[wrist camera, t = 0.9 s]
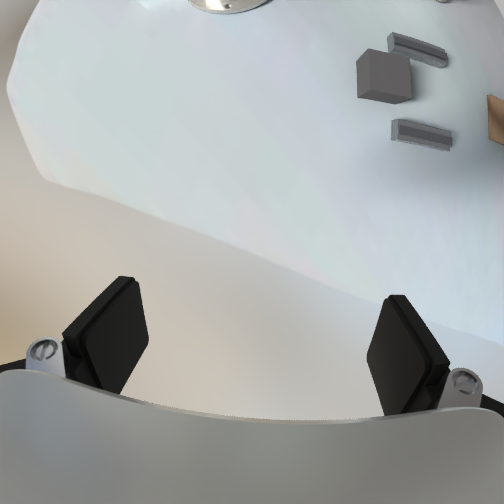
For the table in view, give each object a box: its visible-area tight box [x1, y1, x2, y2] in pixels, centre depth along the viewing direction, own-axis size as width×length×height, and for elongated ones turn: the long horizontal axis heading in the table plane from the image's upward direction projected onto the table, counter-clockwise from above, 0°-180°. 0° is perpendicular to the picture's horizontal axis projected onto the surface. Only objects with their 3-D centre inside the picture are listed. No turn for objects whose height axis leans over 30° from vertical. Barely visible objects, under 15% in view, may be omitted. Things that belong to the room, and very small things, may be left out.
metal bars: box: [387, 32, 452, 151], centre depth 25 cm, size 14×8×2 cm, turn 179°
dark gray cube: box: [356, 49, 412, 104], centre depth 24 cm, size 5×5×5 cm
